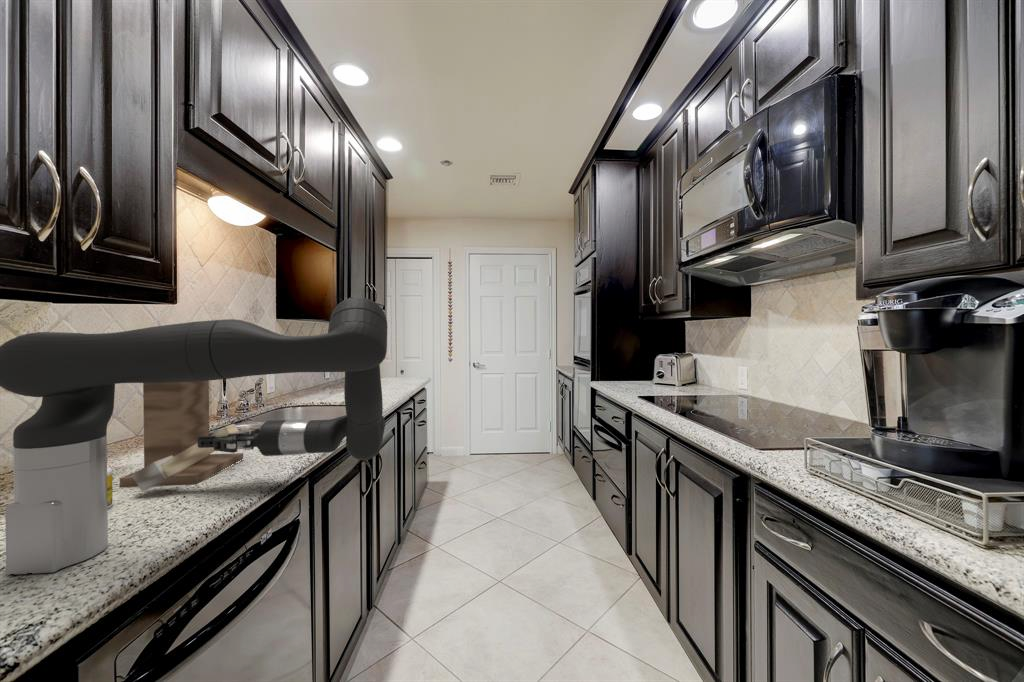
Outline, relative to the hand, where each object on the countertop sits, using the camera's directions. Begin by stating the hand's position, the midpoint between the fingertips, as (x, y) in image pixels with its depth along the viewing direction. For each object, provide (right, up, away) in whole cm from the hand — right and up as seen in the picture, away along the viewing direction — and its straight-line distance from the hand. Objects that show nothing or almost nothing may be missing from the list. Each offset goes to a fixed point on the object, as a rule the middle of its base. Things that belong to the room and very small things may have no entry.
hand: (204, 440), depth 86 cm
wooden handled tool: (-1, -4, 0) cm, 4 cm away
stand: (-14, -11, +13) cm, 22 cm away
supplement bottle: (-14, -11, -9) cm, 20 cm away
